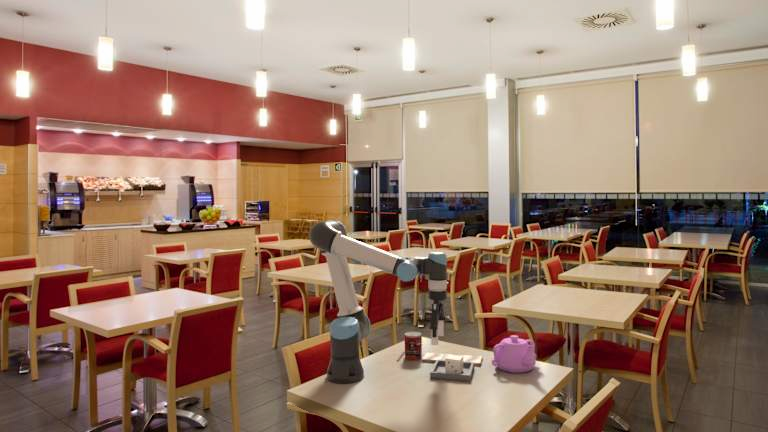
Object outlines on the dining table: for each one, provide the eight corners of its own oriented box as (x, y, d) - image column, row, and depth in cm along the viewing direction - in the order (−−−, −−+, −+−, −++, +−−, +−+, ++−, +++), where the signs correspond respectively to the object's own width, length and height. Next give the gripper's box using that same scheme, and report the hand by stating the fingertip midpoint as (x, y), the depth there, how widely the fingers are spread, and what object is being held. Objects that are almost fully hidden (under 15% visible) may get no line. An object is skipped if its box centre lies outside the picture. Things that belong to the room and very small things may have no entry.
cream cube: (445, 358, 211) (460, 360, 208) (449, 354, 216) (463, 356, 214) (445, 373, 211) (459, 375, 208) (449, 368, 216) (463, 370, 214)
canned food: (403, 360, 230) (403, 335, 230) (406, 354, 238) (405, 331, 238) (420, 360, 229) (420, 336, 229) (422, 355, 237) (422, 331, 236)
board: (396, 361, 229) (396, 358, 229) (402, 352, 241) (402, 349, 241) (480, 367, 220) (480, 364, 220) (482, 357, 232) (482, 355, 232)
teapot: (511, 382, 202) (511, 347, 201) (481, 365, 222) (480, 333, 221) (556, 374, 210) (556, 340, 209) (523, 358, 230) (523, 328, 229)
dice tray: (430, 378, 207) (430, 372, 207) (436, 365, 223) (436, 359, 223) (470, 381, 203) (470, 375, 203) (474, 368, 219) (473, 362, 219)
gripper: (441, 296, 200) (441, 349, 201) (451, 284, 224) (450, 332, 225) (422, 295, 202) (422, 348, 204) (434, 283, 226) (434, 331, 227)
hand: (437, 340), depth 214 cm, fingers open, 13 cm apart
